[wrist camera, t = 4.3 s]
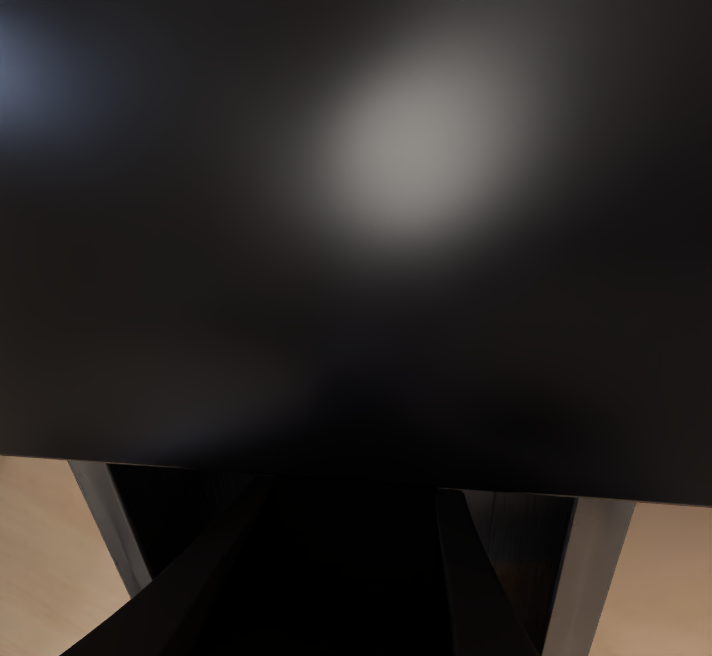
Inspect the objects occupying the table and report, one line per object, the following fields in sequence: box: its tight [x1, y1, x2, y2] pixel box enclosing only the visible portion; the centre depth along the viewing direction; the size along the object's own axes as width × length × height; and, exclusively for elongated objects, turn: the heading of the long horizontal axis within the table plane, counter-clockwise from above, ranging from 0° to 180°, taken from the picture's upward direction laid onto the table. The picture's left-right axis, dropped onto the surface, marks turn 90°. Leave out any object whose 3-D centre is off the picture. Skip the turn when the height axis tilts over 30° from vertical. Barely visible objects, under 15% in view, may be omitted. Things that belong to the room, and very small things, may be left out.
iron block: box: [194, 476, 445, 656], centre depth 9 cm, size 4×4×8 cm
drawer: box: [67, 460, 636, 656], centre depth 11 cm, size 17×10×6 cm, turn 3°
